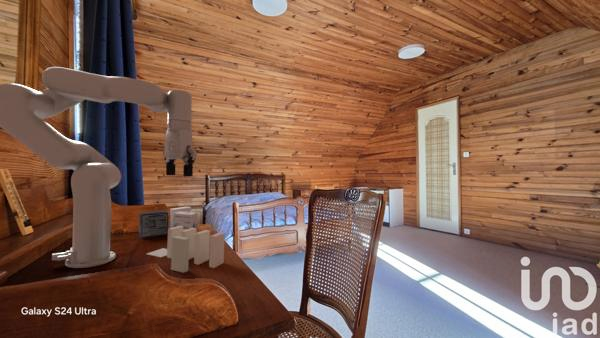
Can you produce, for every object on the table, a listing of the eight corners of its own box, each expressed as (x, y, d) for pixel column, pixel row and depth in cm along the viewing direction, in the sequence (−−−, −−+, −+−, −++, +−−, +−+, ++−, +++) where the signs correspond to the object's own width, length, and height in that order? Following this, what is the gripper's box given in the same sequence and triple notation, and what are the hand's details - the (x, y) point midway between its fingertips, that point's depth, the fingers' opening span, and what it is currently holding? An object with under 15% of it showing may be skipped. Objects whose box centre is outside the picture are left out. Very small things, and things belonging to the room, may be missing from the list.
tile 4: (166, 257, 89) (168, 228, 89) (178, 253, 94) (179, 225, 93) (170, 258, 88) (171, 229, 88) (182, 254, 93) (183, 226, 93)
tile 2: (194, 263, 85) (195, 233, 84) (204, 258, 89) (205, 230, 89) (198, 264, 84) (199, 234, 84) (208, 259, 89) (210, 230, 88)
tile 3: (180, 260, 87) (181, 230, 87) (191, 255, 91) (192, 227, 91) (184, 261, 86) (185, 231, 86) (195, 256, 91) (196, 228, 91)
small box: (164, 232, 120) (165, 209, 120) (168, 235, 115) (169, 211, 115) (138, 235, 113) (139, 211, 113) (140, 238, 108) (141, 214, 108)
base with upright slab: (177, 238, 112) (178, 210, 111) (164, 234, 116) (165, 208, 116) (195, 233, 119) (196, 207, 119) (182, 230, 124) (183, 205, 124)
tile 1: (209, 267, 82) (210, 235, 82) (219, 261, 87) (220, 232, 87) (213, 268, 82) (214, 236, 82) (223, 262, 87) (224, 233, 86)
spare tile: (183, 272, 77) (184, 239, 77) (171, 269, 79) (172, 237, 79) (188, 270, 79) (189, 238, 79) (175, 267, 81) (176, 235, 81)
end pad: (146, 254, 91) (146, 253, 91) (163, 248, 98) (163, 248, 98) (160, 257, 89) (160, 257, 89) (177, 251, 95) (177, 251, 95)
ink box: (171, 241, 106) (172, 213, 106) (178, 238, 111) (179, 211, 111) (191, 243, 105) (192, 214, 105) (197, 239, 110) (198, 212, 110)
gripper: (154, 126, 91) (154, 175, 92) (185, 123, 83) (185, 177, 83) (174, 129, 98) (174, 174, 98) (205, 127, 89) (204, 176, 89)
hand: (179, 175), depth 91 cm, fingers open, 9 cm apart
